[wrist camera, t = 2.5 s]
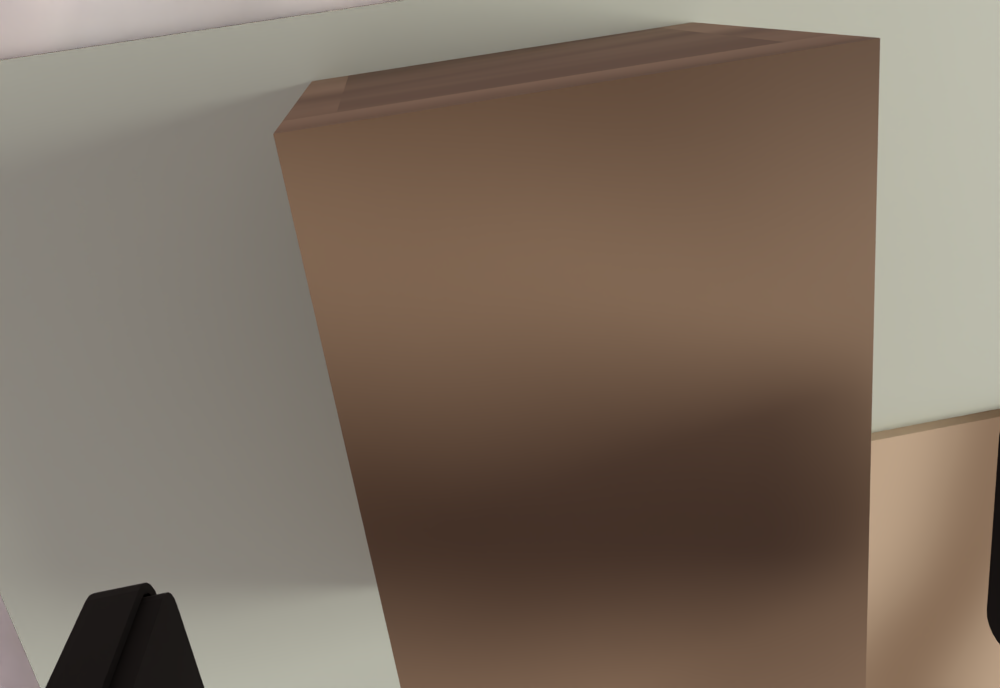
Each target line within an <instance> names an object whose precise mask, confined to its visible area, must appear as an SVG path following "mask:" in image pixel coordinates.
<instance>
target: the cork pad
mask: <svg viewBox="0 0 1000 688" xmlns="http://www.w3.org/2000/svg"><path fill="white" fill-rule="evenodd" d="M999 433H1000V409H995V410H990V411H985V412H979V413H974V414H969V415H964V416H958V417H953V418H948V419H943V420H937V421H932V422H927V423H922V424H916V425H911V426H906V427H901V428H895V429H890V430H885V431H880V432H874V433H871V474H870V518H869V563H868V608H867V653H866V688H1000V644H999V643H998V642H997V640H996V639H995V637H994V635H993V634H992V631H991V629H990V627H989V623H988V619H987V599H988V585H989V571H990V557H991V542H992V528H993V514H994V500H995V486H996V472H997V458H998V444H999Z"/></svg>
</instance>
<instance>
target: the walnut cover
mask: <svg viewBox="0 0 1000 688" xmlns="http://www.w3.org/2000/svg"><path fill="white" fill-rule="evenodd" d="M879 70H880V38H876V37H864V36H852V35H840V34H828V33H816V32H804V31H792V30H780V29H768V28H756V27H744V26H732V25H720V24H708V23H696V22H691V23H685V24H679V25H672V26H666V27H659V28H653V29H646V30H640V31H633V32H627V33H620V34H614V35H607V36H601V37H594V38H588V39H582V40H575V41H569V42H562V43H556V44H549V45H543V46H536V47H530V48H523V49H517V50H510V51H504V52H497V53H491V54H485V55H478V56H472V57H465V58H459V59H452V60H446V61H439V62H433V63H426V64H420V65H413V66H407V67H400V68H394V69H387V70H381V71H375V72H368V73H362V74H355V75H349V76H342V77H336V78H329V79H323V80H316V81H312V82H311V83H310V84H309V86H308V87H307V88H306V90H305V91H304V93H303V94H302V95H301V97H300V98H299V99H298V101H297V102H296V103H295V105H294V106H293V108H292V109H291V110H290V112H289V113H288V114H287V116H286V117H285V118H284V120H283V121H282V123H281V124H280V125H279V127H278V128H277V129H276V131H275V132H274V133H273V136H274V140H275V144H276V149H277V153H278V157H279V162H280V166H281V170H282V175H283V179H284V183H285V188H286V192H287V196H288V201H289V205H290V209H291V214H292V218H293V222H294V227H295V231H296V236H297V240H298V244H299V249H300V253H301V257H302V262H303V266H304V270H305V275H306V279H307V283H308V288H309V292H310V296H311V301H312V305H313V309H314V314H315V318H316V322H317V327H318V331H319V335H320V340H321V344H322V348H323V353H324V357H325V361H326V366H327V370H328V374H329V379H330V383H331V387H332V392H333V396H334V400H335V405H336V409H337V413H338V418H339V422H340V426H341V431H342V435H343V439H344V444H345V448H346V453H347V457H348V461H349V466H350V470H351V474H352V479H353V483H354V487H355V492H356V496H357V500H358V505H359V509H360V513H361V518H362V522H363V526H364V531H365V535H366V539H367V544H368V548H369V552H370V557H371V561H372V565H373V570H374V574H375V578H376V583H377V587H378V591H379V596H380V600H381V604H382V609H383V613H384V617H385V622H386V626H387V630H388V635H389V639H390V643H391V648H392V652H393V656H394V661H395V665H396V670H397V674H398V678H399V683H400V687H401V688H866V653H867V608H868V563H869V518H870V474H871V429H872V384H873V339H874V294H875V250H876V205H877V160H878V115H879Z"/></svg>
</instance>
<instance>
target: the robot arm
mask: <svg viewBox="0 0 1000 688" xmlns="http://www.w3.org/2000/svg"><path fill="white" fill-rule="evenodd" d="M987 619H988V623H989V627H990V629H991V631H992V634H993V635H994V637H995V639H996V640H997V642H998V643H999V644H1000V433H999V444H998V458H997V472H996V486H995V500H994V514H993V528H992V542H991V557H990V571H989V585H988V599H987ZM45 688H204V685H203V682H202V679H201V676H200V673H199V670H198V667H197V664H196V661H195V658H194V654H193V651H192V648H191V645H190V642H189V639H188V636H187V633H186V630H185V627H184V624H183V621H182V618H181V615H180V612H179V609H178V606H177V603H176V601H175V598H174V597H173V595H172V594H171V593H169V592H166V593H161V594H156V591H155V590H154V588H153V587H152V586H151V584H149V583H147V582H146V583H141V584H136V585H131V586H126V587H121V588H116V589H111V590H106V591H101V592H96V593H93V594H91V595H89V597H88V598H87V599H86V601H85V603H84V605H83V607H82V609H81V612H80V614H79V616H78V618H77V620H76V622H75V625H74V627H73V629H72V631H71V633H70V635H69V638H68V640H67V642H66V644H65V646H64V648H63V650H62V653H61V655H60V657H59V659H58V661H57V663H56V666H55V668H54V670H53V672H52V674H51V676H50V679H49V681H48V683H47V685H46V687H45Z"/></svg>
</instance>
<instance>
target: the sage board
mask: <svg viewBox="0 0 1000 688" xmlns="http://www.w3.org/2000/svg"><path fill="white" fill-rule="evenodd" d="M691 22H696V23H708V24H720V25H732V26H744V27H756V28H768V29H780V30H792V31H804V32H816V33H828V34H840V35H852V36H864V37H876V38H880V70H879V115H878V160H877V205H876V250H875V294H874V339H873V384H872V429H871V433H874V432H880V431H885V430H890V429H895V428H901V427H906V426H911V425H916V424H922V423H927V422H932V421H937V420H943V419H948V418H953V417H958V416H964V415H969V414H974V413H979V412H985V411H990V410H995V409H1000V0H399V1H393V2H386V3H379V4H373V5H366V6H359V7H352V8H346V9H339V10H332V11H326V12H319V13H312V14H306V15H299V16H292V17H285V18H279V19H272V20H265V21H259V22H252V23H245V24H239V25H232V26H225V27H219V28H212V29H205V30H198V31H192V32H185V33H178V34H172V35H165V36H158V37H152V38H145V39H138V40H131V41H125V42H118V43H111V44H105V45H98V46H91V47H85V48H78V49H71V50H65V51H58V52H51V53H44V54H38V55H31V56H24V57H18V58H11V59H4V60H0V595H1V597H2V599H3V602H4V604H5V606H6V609H7V611H8V613H9V616H10V618H11V620H12V623H13V625H14V628H15V630H16V632H17V635H18V637H19V639H20V642H21V644H22V646H23V649H24V651H25V653H26V656H27V658H28V660H29V663H30V665H31V667H32V670H33V672H34V674H35V677H36V679H37V681H38V684H39V686H40V688H45V687H46V685H47V683H48V681H49V679H50V676H51V674H52V672H53V670H54V668H55V666H56V663H57V661H58V659H59V657H60V655H61V653H62V650H63V648H64V646H65V644H66V642H67V640H68V638H69V635H70V633H71V631H72V629H73V627H74V625H75V622H76V620H77V618H78V616H79V614H80V612H81V609H82V607H83V605H84V603H85V601H86V599H87V598H88V597H89V595H91V594H93V593H96V592H101V591H106V590H111V589H116V588H121V587H126V586H131V585H136V584H141V583H146V582H147V583H149V584H151V586H152V587H153V588H154V590H155V591H156V594H161V593H166V592H169V593H171V594H172V595H173V597H174V598H175V601H176V603H177V606H178V609H179V612H180V615H181V618H182V621H183V624H184V627H185V630H186V633H187V636H188V639H189V642H190V645H191V648H192V651H193V654H194V658H195V661H196V664H197V667H198V670H199V673H200V676H201V679H202V682H203V685H204V688H401V687H400V683H399V678H398V674H397V670H396V665H395V661H394V656H393V652H392V648H391V643H390V639H389V635H388V630H387V626H386V622H385V617H384V613H383V609H382V604H381V600H380V596H379V591H378V587H377V583H376V578H375V574H374V570H373V565H372V561H371V557H370V552H369V548H368V544H367V539H366V535H365V531H364V526H363V522H362V518H361V513H360V509H359V505H358V500H357V496H356V492H355V487H354V483H353V479H352V474H351V470H350V466H349V461H348V457H347V453H346V448H345V444H344V439H343V435H342V431H341V426H340V422H339V418H338V413H337V409H336V405H335V400H334V396H333V392H332V387H331V383H330V379H329V374H328V370H327V366H326V361H325V357H324V353H323V348H322V344H321V340H320V335H319V331H318V327H317V322H316V318H315V314H314V309H313V305H312V301H311V296H310V292H309V288H308V283H307V279H306V275H305V270H304V266H303V262H302V257H301V253H300V249H299V244H298V240H297V236H296V231H295V227H294V222H293V218H292V214H291V209H290V205H289V201H288V196H287V192H286V188H285V183H284V179H283V175H282V170H281V166H280V162H279V157H278V153H277V149H276V144H275V140H274V136H273V133H274V132H275V131H276V129H277V128H278V127H279V125H280V124H281V123H282V121H283V120H284V118H285V117H286V116H287V114H288V113H289V112H290V110H291V109H292V108H293V106H294V105H295V103H296V102H297V101H298V99H299V98H300V97H301V95H302V94H303V93H304V91H305V90H306V88H307V87H308V86H309V84H310V83H311V82H312V81H316V80H323V79H329V78H336V77H342V76H349V75H355V74H362V73H368V72H375V71H381V70H387V69H394V68H400V67H407V66H413V65H420V64H426V63H433V62H439V61H446V60H452V59H459V58H465V57H472V56H478V55H485V54H491V53H497V52H504V51H510V50H517V49H523V48H530V47H536V46H543V45H549V44H556V43H562V42H569V41H575V40H582V39H588V38H594V37H601V36H607V35H614V34H620V33H627V32H633V31H640V30H646V29H653V28H659V27H666V26H672V25H679V24H685V23H691Z"/></svg>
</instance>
